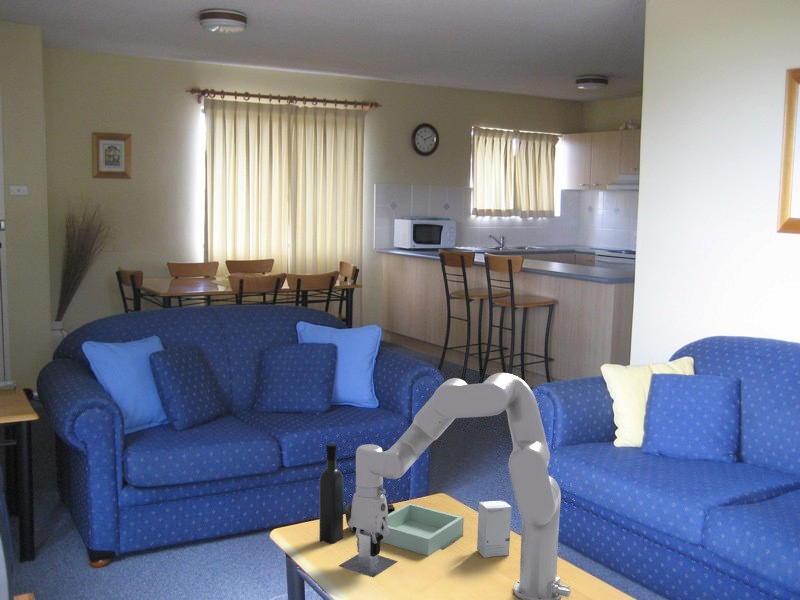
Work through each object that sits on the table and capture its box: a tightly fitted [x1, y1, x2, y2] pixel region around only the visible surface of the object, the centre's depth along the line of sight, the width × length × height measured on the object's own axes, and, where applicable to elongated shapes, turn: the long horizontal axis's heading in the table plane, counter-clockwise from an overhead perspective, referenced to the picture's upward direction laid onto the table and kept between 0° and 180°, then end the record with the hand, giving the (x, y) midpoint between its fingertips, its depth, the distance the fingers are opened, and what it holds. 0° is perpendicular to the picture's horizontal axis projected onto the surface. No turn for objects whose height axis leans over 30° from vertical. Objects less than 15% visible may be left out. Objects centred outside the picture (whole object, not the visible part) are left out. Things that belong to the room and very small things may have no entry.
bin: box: [380, 502, 465, 557], centre depth 249 cm, size 20×20×6 cm
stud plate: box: [338, 553, 399, 578], centre depth 230 cm, size 12×12×5 cm
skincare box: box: [476, 500, 512, 559], centre depth 240 cm, size 8×6×15 cm
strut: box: [358, 530, 380, 568], centre depth 229 cm, size 4×4×9 cm
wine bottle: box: [318, 443, 344, 544], centre depth 245 cm, size 6×6×30 cm
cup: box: [344, 503, 354, 533], centre depth 253 cm, size 8×7×8 cm
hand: (368, 552), depth 230 cm, fingers closed on strut, 4 cm apart
